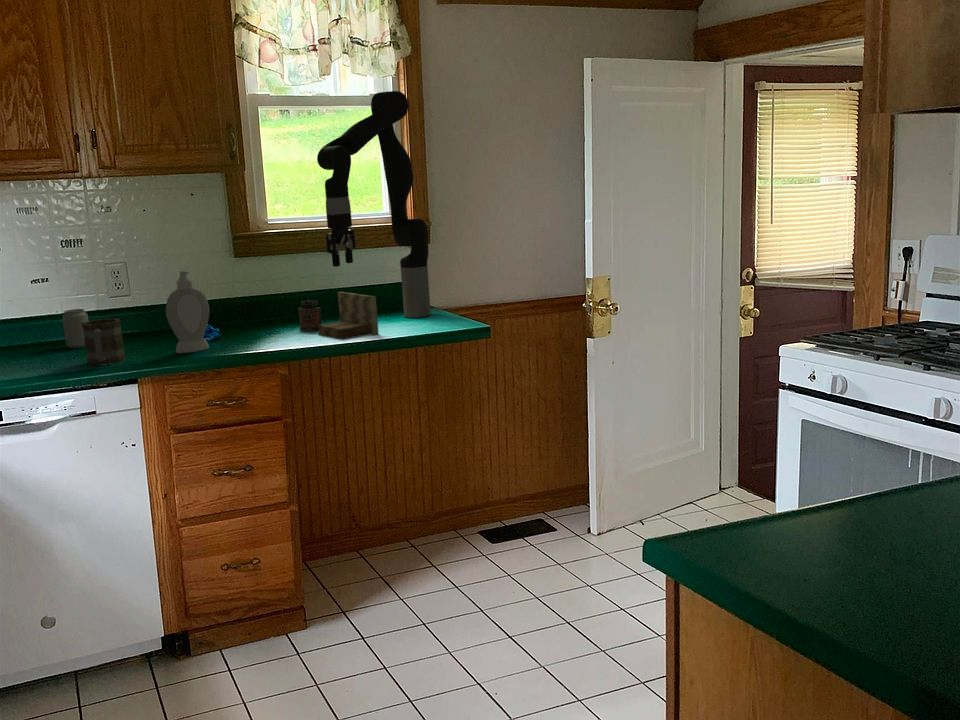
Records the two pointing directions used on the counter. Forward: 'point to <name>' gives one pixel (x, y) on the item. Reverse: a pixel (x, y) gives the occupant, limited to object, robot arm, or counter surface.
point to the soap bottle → (188, 315)
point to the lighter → (309, 316)
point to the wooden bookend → (353, 317)
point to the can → (74, 327)
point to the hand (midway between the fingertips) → (343, 264)
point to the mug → (103, 341)
